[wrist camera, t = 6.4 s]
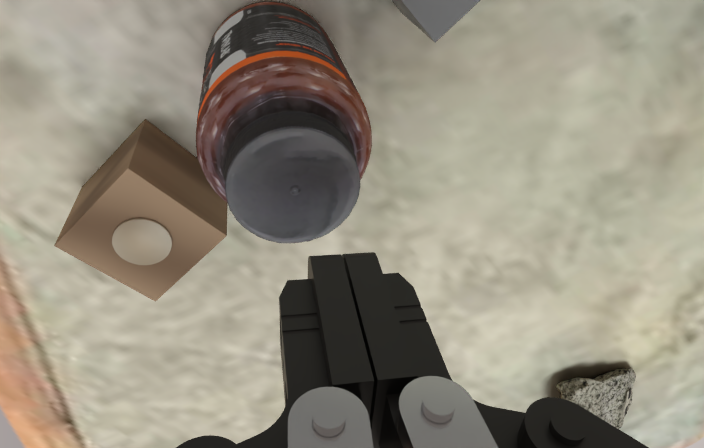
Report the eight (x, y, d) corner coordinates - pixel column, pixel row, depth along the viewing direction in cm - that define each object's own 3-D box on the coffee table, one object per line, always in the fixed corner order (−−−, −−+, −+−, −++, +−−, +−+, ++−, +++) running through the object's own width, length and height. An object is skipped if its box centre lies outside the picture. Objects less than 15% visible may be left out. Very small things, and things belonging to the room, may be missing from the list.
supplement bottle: (185, 16, 22) (151, 121, 13) (319, -17, 23) (377, 64, 13) (230, 139, 26) (228, 289, 17) (346, 109, 26) (406, 241, 17)
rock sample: (684, 430, 44) (656, 514, 38) (595, 419, 50) (559, 491, 44) (640, 327, 42) (603, 400, 36) (552, 329, 48) (510, 392, 42)
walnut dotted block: (145, 118, 25) (127, 170, 20) (227, 180, 27) (226, 238, 23) (82, 186, 26) (53, 248, 22) (166, 239, 29) (154, 304, 24)
